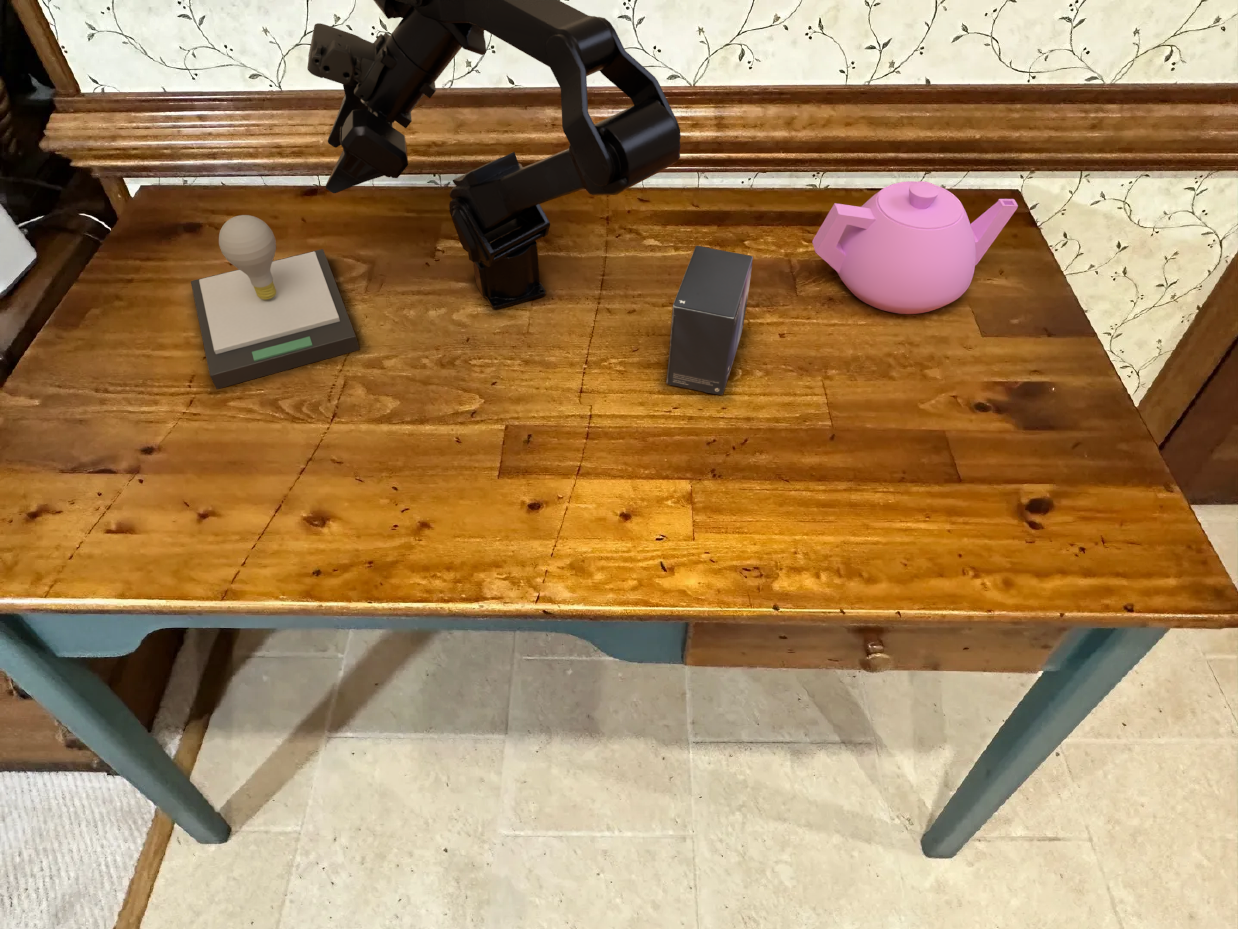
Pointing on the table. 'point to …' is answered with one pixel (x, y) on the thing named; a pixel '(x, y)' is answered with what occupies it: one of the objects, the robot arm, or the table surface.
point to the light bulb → (250, 251)
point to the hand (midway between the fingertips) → (330, 166)
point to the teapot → (908, 246)
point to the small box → (708, 319)
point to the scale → (272, 320)
